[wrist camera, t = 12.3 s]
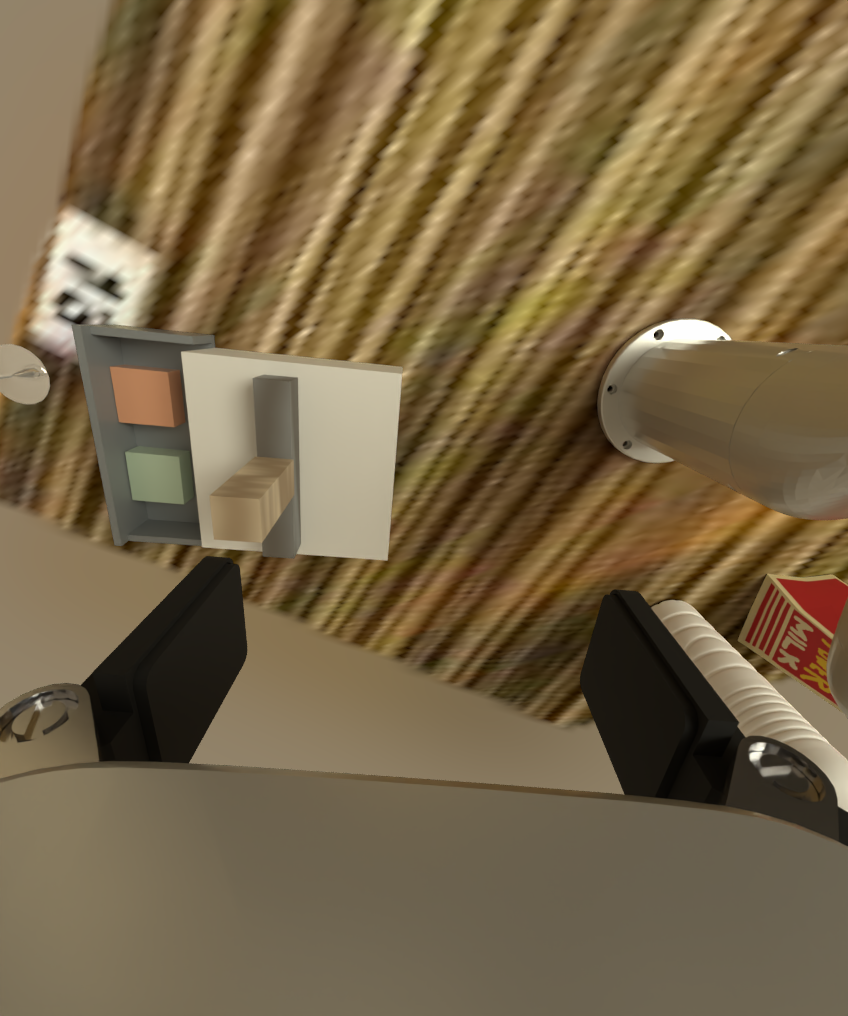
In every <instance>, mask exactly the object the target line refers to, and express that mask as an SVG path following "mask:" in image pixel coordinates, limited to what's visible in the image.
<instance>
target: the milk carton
mask: <svg viewBox="0 0 848 1016" xmlns="http://www.w3.org/2000/svg"><path fill="white" fill-rule="evenodd" d="M847 598H848V585H847V584H846V583H844V582H843V581H841V580H840V579H838V578H837V577H835V576H834V575H832V574H831V575H822V576H813V577H804V578H801V577H792V576H783V575H774V574H767V575H766V577H765V579H764V581H763V584H762V586H761V588H760V590H759V592H758V594H757V596H756V599H755V601H754V603H753V605H752V607H751V609H750V612H749V614H748V616H747V619H746V621H745V624H744V626H743V628H742V631H741V633H740V635H739V638H738V640H737V641H739V642H740V643H742V644H743V645H745V646H746V647H748V648H749V649H751V650H752V651H754V652H755V653H757V654H758V655H759V656H761V657H762V658H764V659H765V660H767V661H768V662H770V663H771V664H773V665H774V666H776V667H777V668H779V669H780V670H782V671H783V672H784V673H786V674H787V675H789V676H790V677H792V678H793V679H795V680H796V681H797V682H799V683H800V684H802V685H803V686H805V687H806V688H808V689H809V690H810V691H812V692H813V693H815V694H816V695H818V696H819V697H821V698H822V699H824V700H825V701H826V702H828V703H829V704H831V705H832V706H834V707H835V708H837V709H838V710H839V711H841V709H840V708H839V707H838V705H837V703H836V701H835V700H834V698H833V696H832V694H831V691H830V688H829V684H828V681H827V668H826V665H827V658H828V653H829V649H830V646H831V642H832V639H833V636H834V634H835V631H836V628H837V624H838V621H839V619H840V616H841V614H842V611H843V608H844V606H845V603H846V601H847ZM841 712H842V711H841ZM842 713H843V712H842Z"/></svg>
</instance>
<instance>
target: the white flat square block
mask: <svg viewBox="0 0 848 1016" xmlns="http://www.w3.org/2000/svg"><path fill="white" fill-rule="evenodd" d="M181 356H182V366H183V375H184V384H185V393H186V403H187V412H188V421H189V430H190V440H191V449H192V458H193V467H194V477H195V486H196V495H197V504H198V514H199V523H200V532H201V541H202V547H205V548H219V549H233V550H247V551H261V552H263V551H262V543H258V542H242V541H227V540H214V536H213V526H212V517H211V507H210V498H209V496H210V495H211V494H212V493H213V492H214V491H215V490H217V489H218V488H219V487H220V486H221V485H222V484H224V483H225V482H226V481H227V480H228V479H229V478H231V477H232V476H233V475H234V474H235V473H236V472H238V471H239V470H240V469H241V468H242V467H243V466H245V465H246V464H247V463H248V462H249V461H250V460H252V459H253V458H254V457H257V446H256V429H255V411H254V394H253V378H255V377H258V376H261V375H276V376H287V377H298V407H299V461H300V516H301V545H300V547H299V549H298V551H297V553H296V554H304V555H318V556H332V557H347V558H361V559H375V560H388V548H389V537H390V525H391V512H392V499H393V486H394V473H395V460H396V447H397V435H398V422H399V409H400V396H401V383H402V370H403V367H399V366H389V365H380V364H370V363H360V362H350V361H340V360H330V359H321V358H311V357H301V356H291V355H281V354H271V353H262V352H252V351H242V350H232V349H222V348H208V349H200V350H191V351H182V352H181Z"/></svg>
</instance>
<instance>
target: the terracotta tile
mask: <svg viewBox="0 0 848 1016" xmlns="http://www.w3.org/2000/svg"><path fill="white" fill-rule="evenodd" d="M110 372H111V378H112V384H113V390H114V396H115V402H116V407H117V413H118V419H119V422H121V423H133V424H144V425H155V426H166V427H176V426H178V425H181V424H183V423H185V413H184V404H183V395H182V386H181V377H180V370H176V369H166V368H156V367H146V366H136V365H126V364H124V365H116V366H110Z"/></svg>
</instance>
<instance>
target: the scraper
mask: <svg viewBox="0 0 848 1016" xmlns="http://www.w3.org/2000/svg"><path fill="white" fill-rule="evenodd" d="M253 394H254V411H255V429H256V446H257V457H254V458H253V459H252V460H250V461H249V462H248V463H247V464H246V465H245V466H243V467H242V468H241V469H240V470H239V471H238V472H236V473H235V474H234V475H233V476H232V477H231V478H229V479H228V480H227V481H226V482H225V483H224V484H222V485H221V486H220V487H219V488H218V489H217V490H215V491H214V492H213V493H212V494H211V495H210V496H209V498H210V507H211V517H212V526H213V536H214V540H227V541H242V542H258V543H262V551H263V557H279V558H295V556H296V553H297V551H298V549H299V547H300V545H301V516H300V461H299V407H298V377H287V376H276V375H261V376H258V377H255V378H253Z"/></svg>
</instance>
